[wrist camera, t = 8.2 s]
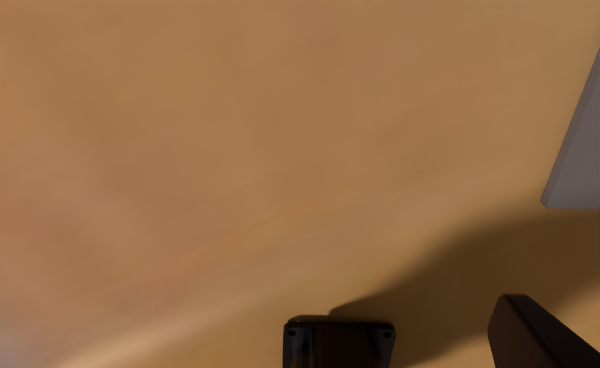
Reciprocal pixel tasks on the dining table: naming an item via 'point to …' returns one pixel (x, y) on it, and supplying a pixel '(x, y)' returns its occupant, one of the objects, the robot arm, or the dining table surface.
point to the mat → (579, 154)
